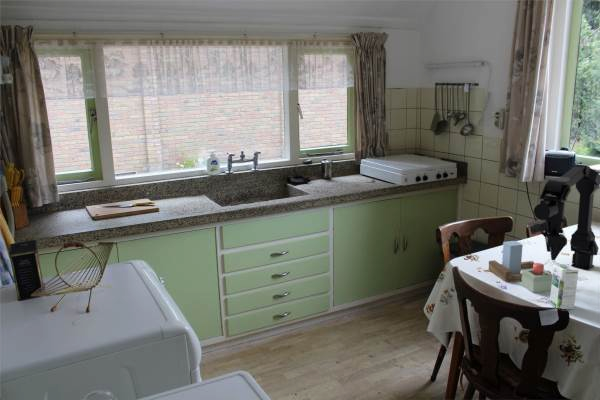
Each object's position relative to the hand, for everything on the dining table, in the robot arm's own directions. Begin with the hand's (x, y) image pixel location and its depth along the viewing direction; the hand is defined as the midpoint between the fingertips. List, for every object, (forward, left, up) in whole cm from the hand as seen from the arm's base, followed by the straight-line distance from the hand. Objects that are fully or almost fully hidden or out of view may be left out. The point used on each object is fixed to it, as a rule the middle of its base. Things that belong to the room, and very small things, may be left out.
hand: (550, 255), depth 188 cm
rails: (+13, -6, -12) cm, 19 cm away
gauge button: (+2, +4, -6) cm, 8 cm away
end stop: (+18, +3, -12) cm, 22 cm away
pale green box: (+2, +4, -12) cm, 13 cm away
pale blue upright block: (+15, -2, -12) cm, 20 cm away
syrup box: (-11, +13, -13) cm, 21 cm away
